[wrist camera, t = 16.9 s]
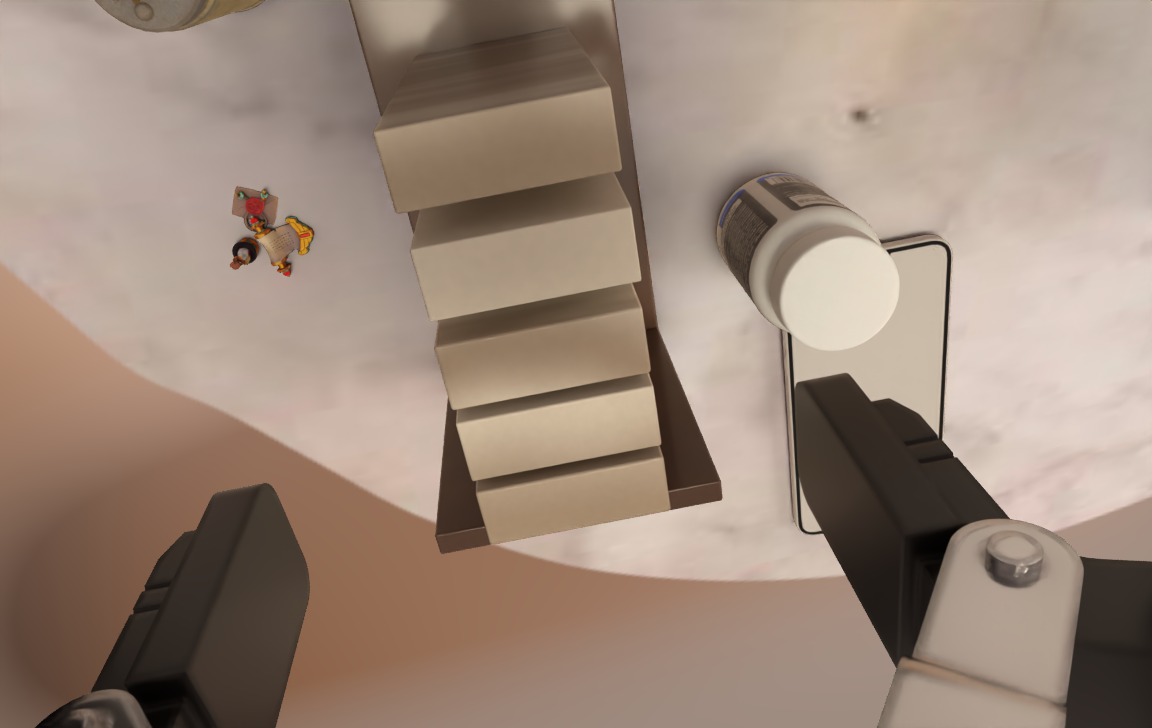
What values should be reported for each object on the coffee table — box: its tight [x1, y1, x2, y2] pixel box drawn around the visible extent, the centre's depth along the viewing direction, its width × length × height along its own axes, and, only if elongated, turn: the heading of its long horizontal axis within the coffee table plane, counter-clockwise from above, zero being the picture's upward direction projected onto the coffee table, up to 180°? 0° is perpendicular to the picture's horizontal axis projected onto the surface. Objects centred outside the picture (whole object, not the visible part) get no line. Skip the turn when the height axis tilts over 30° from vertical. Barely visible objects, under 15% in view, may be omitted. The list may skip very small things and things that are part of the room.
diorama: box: [230, 187, 314, 277], centre depth 32 cm, size 3×4×2 cm
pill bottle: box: [717, 173, 900, 351], centre depth 31 cm, size 5×5×8 cm
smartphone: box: [782, 235, 953, 535], centre depth 39 cm, size 7×1×15 cm
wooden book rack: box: [349, 0, 723, 554], centre depth 26 cm, size 18×9×13 cm, turn 10°
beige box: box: [410, 172, 641, 321], centre depth 26 cm, size 2×6×12 cm, turn 100°
